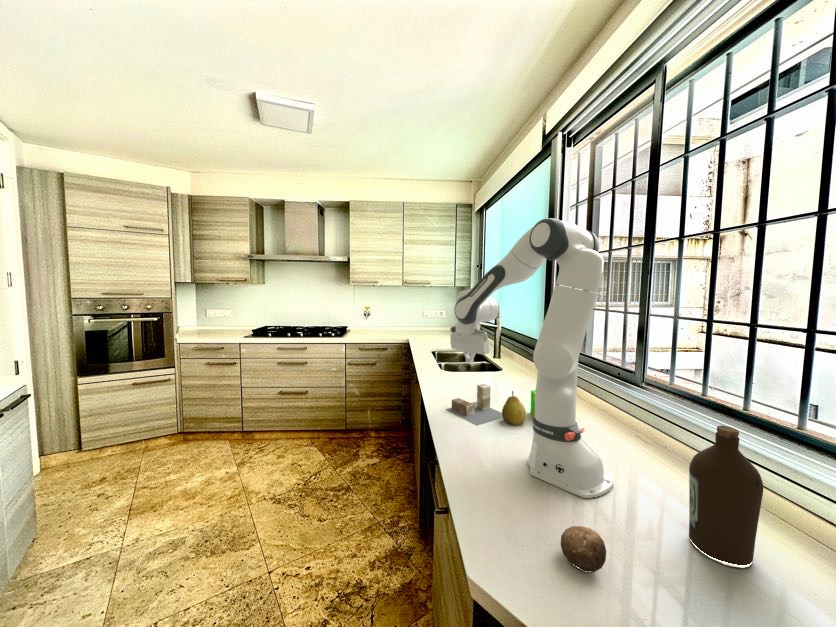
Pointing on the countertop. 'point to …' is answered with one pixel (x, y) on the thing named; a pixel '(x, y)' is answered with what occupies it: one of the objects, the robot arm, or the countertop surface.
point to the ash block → (483, 397)
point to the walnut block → (463, 407)
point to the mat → (479, 415)
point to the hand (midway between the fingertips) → (469, 362)
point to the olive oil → (724, 500)
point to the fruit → (514, 411)
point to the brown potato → (583, 548)
